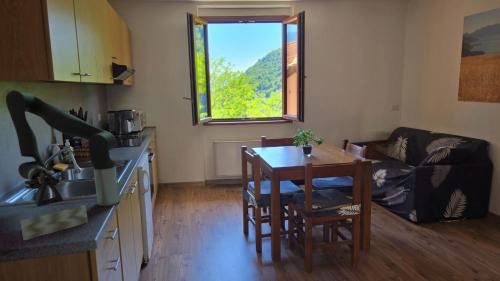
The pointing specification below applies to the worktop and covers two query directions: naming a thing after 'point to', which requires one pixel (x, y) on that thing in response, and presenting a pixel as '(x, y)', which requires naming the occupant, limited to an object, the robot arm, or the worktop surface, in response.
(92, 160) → the robot arm
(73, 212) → the wall board
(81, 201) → the worktop surface
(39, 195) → the phone stand
